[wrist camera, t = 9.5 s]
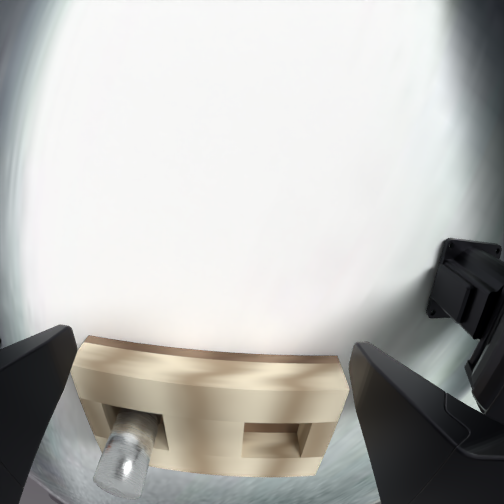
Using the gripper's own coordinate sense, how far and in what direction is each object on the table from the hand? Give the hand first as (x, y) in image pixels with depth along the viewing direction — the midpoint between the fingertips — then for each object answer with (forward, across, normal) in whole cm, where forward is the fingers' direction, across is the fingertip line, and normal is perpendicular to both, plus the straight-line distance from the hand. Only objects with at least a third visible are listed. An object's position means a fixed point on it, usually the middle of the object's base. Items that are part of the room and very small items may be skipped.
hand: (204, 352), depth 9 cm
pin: (+11, +7, +15) cm, 20 cm away
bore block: (+12, +2, +15) cm, 19 cm away
